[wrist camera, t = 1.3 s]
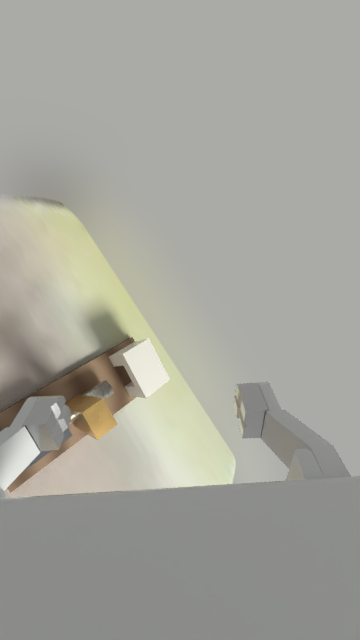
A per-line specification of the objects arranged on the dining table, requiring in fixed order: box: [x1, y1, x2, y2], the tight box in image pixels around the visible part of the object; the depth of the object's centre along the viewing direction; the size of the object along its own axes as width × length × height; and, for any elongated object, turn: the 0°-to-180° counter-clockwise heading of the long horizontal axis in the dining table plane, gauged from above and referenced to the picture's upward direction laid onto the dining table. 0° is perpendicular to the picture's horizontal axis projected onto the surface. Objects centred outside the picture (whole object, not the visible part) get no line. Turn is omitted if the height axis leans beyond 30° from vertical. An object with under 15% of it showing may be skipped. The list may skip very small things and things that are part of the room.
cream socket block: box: [109, 338, 170, 398], centre depth 49 cm, size 6×9×7 cm, turn 32°
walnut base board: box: [0, 337, 136, 493], centre depth 46 cm, size 29×11×1 cm, turn 122°
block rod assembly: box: [65, 380, 117, 440], centre depth 37 cm, size 18×4×14 cm, turn 122°
